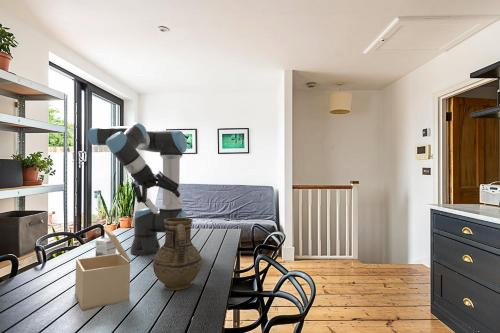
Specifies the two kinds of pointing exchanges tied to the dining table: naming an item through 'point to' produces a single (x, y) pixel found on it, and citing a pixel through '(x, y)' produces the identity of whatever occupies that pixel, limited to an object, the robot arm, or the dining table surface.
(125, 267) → the carton
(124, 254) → the lid flap
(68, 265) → the dining table surface
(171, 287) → the decorative pitcher
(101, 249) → the syrup box
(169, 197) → the robot arm
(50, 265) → the dining table surface
